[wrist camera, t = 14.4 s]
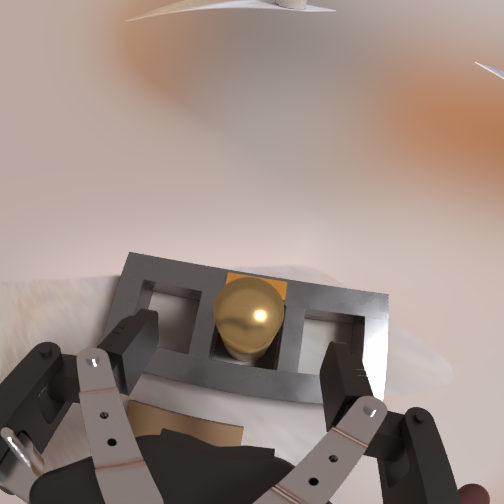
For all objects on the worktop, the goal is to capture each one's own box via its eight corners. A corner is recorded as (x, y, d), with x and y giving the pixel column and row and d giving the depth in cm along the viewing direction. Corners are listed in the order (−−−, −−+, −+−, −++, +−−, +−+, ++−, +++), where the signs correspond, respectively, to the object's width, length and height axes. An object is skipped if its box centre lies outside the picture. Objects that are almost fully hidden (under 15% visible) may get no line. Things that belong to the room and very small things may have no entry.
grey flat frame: (111, 360, 23) (96, 355, 20) (139, 265, 28) (128, 250, 25) (367, 404, 22) (383, 405, 19) (375, 304, 27) (389, 293, 24)
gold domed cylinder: (219, 356, 24) (205, 337, 15) (229, 314, 26) (221, 271, 17) (265, 365, 24) (278, 351, 15) (272, 322, 26) (289, 283, 17)
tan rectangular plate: (121, 473, 18) (117, 475, 17) (133, 399, 22) (129, 400, 21) (228, 502, 18) (228, 506, 17) (243, 426, 21) (243, 428, 20)
